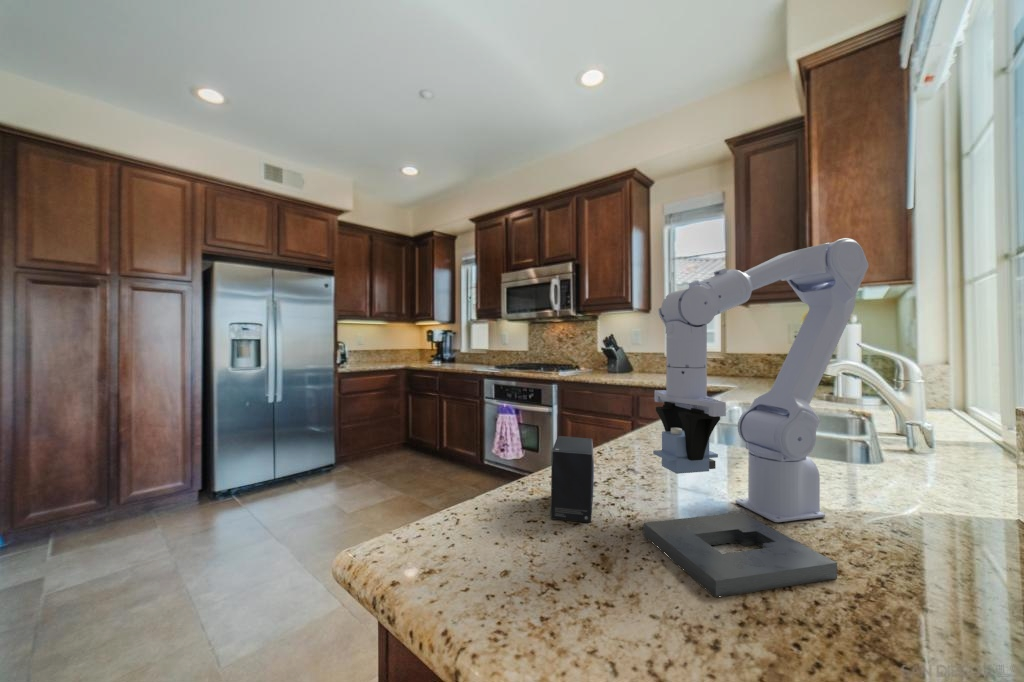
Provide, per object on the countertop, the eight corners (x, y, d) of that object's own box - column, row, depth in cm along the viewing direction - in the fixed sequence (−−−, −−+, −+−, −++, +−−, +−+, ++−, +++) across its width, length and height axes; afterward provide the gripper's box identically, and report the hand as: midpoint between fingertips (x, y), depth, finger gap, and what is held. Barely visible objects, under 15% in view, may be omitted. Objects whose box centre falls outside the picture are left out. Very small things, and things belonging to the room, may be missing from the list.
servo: (702, 463, 65) (702, 424, 65) (719, 470, 61) (719, 429, 61) (653, 466, 63) (653, 426, 63) (667, 474, 59) (667, 432, 59)
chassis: (741, 524, 60) (741, 512, 60) (837, 578, 46) (837, 562, 46) (643, 535, 56) (643, 522, 56) (715, 597, 42) (715, 580, 42)
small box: (593, 524, 59) (593, 453, 60) (549, 520, 61) (549, 450, 61) (593, 497, 70) (593, 436, 70) (556, 494, 71) (556, 435, 71)
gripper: (638, 364, 68) (638, 445, 68) (693, 370, 54) (693, 471, 54) (675, 364, 70) (675, 442, 70) (739, 369, 56) (739, 468, 56)
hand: (686, 455), depth 62 cm, fingers closed on servo, 4 cm apart
